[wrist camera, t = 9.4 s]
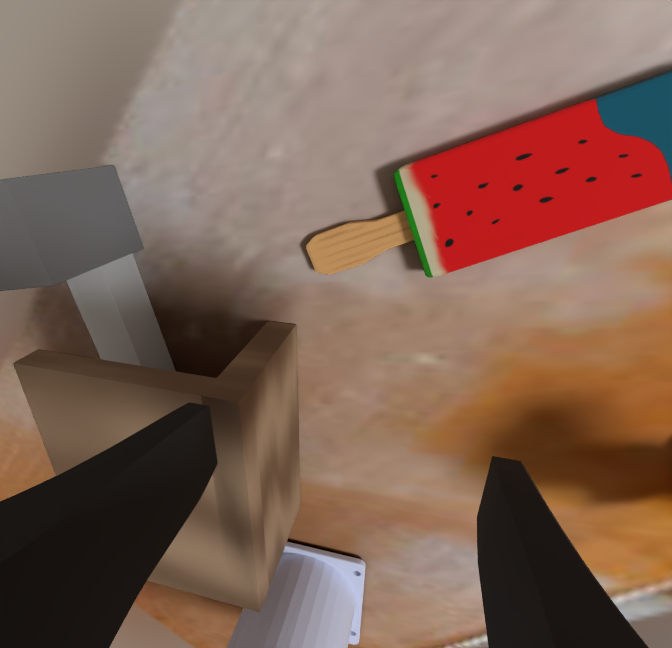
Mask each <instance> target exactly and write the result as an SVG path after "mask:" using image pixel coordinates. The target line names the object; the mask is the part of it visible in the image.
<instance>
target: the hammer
mask: <svg viewBox="0 0 672 648" xmlns="http://www.w3.org/2000/svg"><path fill="white" fill-rule="evenodd" d="M141 249H144V247H143V244H142V242H141V239H140V236H139V233H138V230H137V227H136V225H135V222H134V219H133V216H132V213H131V211H130V208H129V205H128V202H127V199H126V196H125V194H124V191H123V188H122V185H121V182H120V180H119V177H118V174H117V171H116V168H115V165H113V166H105V167H97V168H89V169H81V170H73V171H65V172H57V173H49V174H41V175H33V176H25V177H17V178H9V179H2V180H0V291H4V290H14V289H25V288H35V287H46V286H54V285H57V284H59V283H61V282H64V281H66V282H67V284H68V286H69V289H70V291H71V293H72V295H73V298H74V300H75V302H76V304H77V306H78V309H79V311H80V313H81V315H82V318H83V320H84V322H85V324H86V327H87V329H88V331H89V333H90V336H91V338H92V340H93V342H94V345H95V347H96V349H97V351H98V354H99V356H100V358H101V359H102V360H108V361H114V362H120V363H126V364H132V365H139V366H145V367H151V368H157V369H163V370H169V371H175V368H174V365H173V363H172V360H171V357H170V354H169V352H168V349H167V346H166V343H165V341H164V338H163V335H162V333H161V330H160V327H159V324H158V322H157V319H156V316H155V314H154V311H153V308H152V305H151V303H150V300H149V297H148V295H147V292H146V289H145V286H144V284H143V281H142V278H141V276H140V273H139V270H138V267H137V265H136V262H135V259H134V257H133V254H132V253H134V252H137V251H139V250H141Z"/></svg>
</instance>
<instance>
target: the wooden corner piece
mask: <svg viewBox="0 0 672 648" xmlns="http://www.w3.org/2000/svg"><path fill="white" fill-rule="evenodd" d="M13 364H14V367H15V370H16V372H17V375H18V377H19V380H20V383H21V385H22V388H23V390H24V393H25V396H26V398H27V401H28V404H29V406H30V409H31V411H32V414H33V417H34V419H35V422H36V424H37V427H38V430H39V432H40V435H41V438H42V440H43V443H44V445H45V448H46V451H47V453H48V456H49V458H50V461H51V464H52V466H53V469H54V472H55V474H56V476H57V475H59V474H61V473H63V472H65V471H67V470H69V469H71V468H73V467H75V466H77V465H78V464H80V463H82V462H84V461H86V460H88V459H90V458H92V457H93V456H95V455H97V454H99V453H101V452H103V451H105V450H107V449H108V448H110V447H112V446H114V445H115V444H117V443H119V442H121V441H122V440H124V439H126V438H128V437H129V436H131V435H133V434H134V433H136V432H138V431H140V430H141V429H143V428H145V427H147V426H148V425H150V424H152V423H153V422H155V421H157V420H158V419H160V418H162V417H164V416H165V415H167V414H169V413H170V412H172V411H174V410H176V409H178V408H179V407H181V406H183V405H185V404H187V403H189V402H190V403H196V404H201V405H207V406H210V412H211V419H212V426H213V434H214V441H215V448H216V455H217V462H218V464H217V466H216V468H215V470H214V472H213V475H212V477H211V479H210V481H209V483H208V485H207V487H206V489H205V491H204V493H203V495H202V497H201V498H200V500H199V502H198V503H197V505H196V506H195V508H194V510H193V511H192V513H191V514H190V516H189V517H188V519H187V520H186V522H185V523H184V525H183V526H182V528H181V530H180V531H179V533H178V534H177V536H176V537H175V539H174V540H173V542H172V543H171V545H170V546H169V548H168V549H167V551H166V552H165V554H164V555H163V557H162V558H161V560H160V561H159V563H158V564H157V566H156V567H155V569H154V570H153V572H152V573H151V575H150V576H149V578H148V579H147V581H149V582H153V583H157V584H160V585H164V586H167V587H171V588H174V589H178V590H182V591H185V592H189V593H192V594H196V595H200V596H203V597H207V598H210V599H214V600H217V601H221V602H225V603H228V604H232V605H235V606H239V607H242V608H246V609H250V610H253V611H257V612H260V611H261V609H262V606H263V603H264V601H265V598H266V595H267V593H268V590H269V588H270V585H271V582H272V580H273V577H274V574H275V572H276V569H277V566H278V564H279V561H280V558H281V556H282V553H283V551H284V548H285V545H286V543H287V540H288V537H289V535H290V532H291V529H292V527H293V524H294V522H295V519H296V516H297V514H298V511H299V508H300V506H301V504H300V462H299V419H298V377H297V334H296V324H289V323H281V322H274V321H268V322H267V323H266V324H265V325H264V326H263V327H262V328H261V329H260V331H259V332H258V333H257V334H256V335H255V336H254V337H253V338H252V339H251V341H250V342H249V343H248V344H247V345H246V346H245V347H244V348H243V349H242V351H241V352H240V353H239V354H238V355H237V356H236V357H235V358H234V359H233V361H232V362H231V363H230V364H229V365H228V366H227V367H226V368H225V369H224V371H223V372H222V373H221V374H220V375H219V376H218V377H217V378H213V377H206V376H200V375H194V374H188V373H182V372H176V371H169V370H163V369H157V368H151V367H145V366H139V365H132V364H126V363H120V362H114V361H108V360H102V359H95V358H89V357H83V356H77V355H71V354H65V353H58V352H52V351H46V350H40V349H38V350H36V351H34V352H33V353H31V354H29V355H27V356H25V357H24V358H22V359H20V360H18V361H16V362H15V363H13Z"/></svg>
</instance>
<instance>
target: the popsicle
mask: <svg viewBox="0 0 672 648" xmlns="http://www.w3.org/2000/svg"><path fill="white" fill-rule="evenodd" d="M394 179H395V182H396V186H397V189H398V192H399V195H400V198H401V201H402V204H403V207H404V210H403V211H400V212H397V213H394V214H391V215H389V216H386V217H383V218H380V219H377V220H367V221H355V222H349V223H346V224H343V225H341V226H338V227H335V228H332V229H330V230H327V231H324V232H321V233H319V234H317V235H315V236H314V237H313V238H312V239H311V240H310V242H309V243H308V244H307V245H306V249H307V252H308V254H309V257H310V259H311V261H312V264H313V266H314V268H315V271H316V272H318V273H322V274H333V273H336V272H339V271H343V270H346V269H349V268H352V267H355V266H358V265H361V264H364V263H366V262H367V261H369V260H370V259H372V258H373V257H375V256H377V255H378V254H380V253H381V252H383V251H384V250H386V249H389V248H392V247H395V246H398V245H401V244H404V243H407V242H410V241H413V240H414V241H415V244H416V247H417V250H418V253H419V256H420V259H421V262H422V266H423V269H424V272H425V275H426V276H427V277H436V276H440V275H443V274H446V273H449V272H452V271H455V270H458V269H461V268H464V267H468V266H471V265H474V264H477V263H480V262H483V261H486V260H489V259H492V258H495V257H498V256H501V255H504V254H507V253H510V252H513V251H516V250H519V249H522V248H525V247H528V246H531V245H535V244H538V243H541V242H544V241H547V240H550V239H553V238H556V237H559V236H562V235H565V234H568V233H571V232H574V231H577V230H580V229H583V228H586V227H589V226H592V225H595V224H598V223H601V222H605V221H608V220H611V219H614V218H617V217H620V216H623V215H626V214H629V213H632V212H635V211H638V210H641V209H644V208H647V207H650V206H653V205H656V204H659V203H662V202H665V201H668V200H672V70H671V71H668V72H666V73H663V74H660V75H657V76H654V77H651V78H649V79H646V80H643V81H640V82H637V83H635V84H632V85H629V86H626V87H623V88H620V89H618V90H615V91H612V92H609V93H606V94H604V95H601V96H598V97H595V98H592V99H589V100H587V101H584V102H581V103H578V104H575V105H573V106H570V107H567V108H564V109H561V110H558V111H556V112H553V113H550V114H547V115H544V116H542V117H539V118H536V119H533V120H530V121H527V122H525V123H522V124H519V125H516V126H513V127H511V128H508V129H505V130H502V131H499V132H496V133H494V134H491V135H488V136H485V137H482V138H480V139H477V140H474V141H471V142H468V143H465V144H463V145H460V146H457V147H454V148H451V149H449V150H446V151H443V152H440V153H437V154H434V155H432V156H429V157H426V158H423V159H420V160H417V161H415V162H412V163H409V164H406V165H404V166H402V167H400V168H399V169H398V170H397V171H396V172H395V173H394Z"/></svg>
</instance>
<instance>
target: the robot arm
mask: <svg viewBox="0 0 672 648" xmlns="http://www.w3.org/2000/svg"><path fill="white" fill-rule="evenodd" d="M217 464H218V462H217V455H216V448H215V441H214V434H213V426H212V419H211V412H210V406H207V405H201V404H196V403H190V402H189V403H187V404H185V405H183V406H181V407H179V408H178V409H176V410H174V411H172V412H170V413H169V414H167V415H165V416H164V417H162V418H160V419H158V420H157V421H155V422H153V423H152V424H150V425H148V426H147V427H145V428H143V429H141V430H140V431H138V432H136V433H134V434H133V435H131V436H129V437H128V438H126V439H124V440H122V441H121V442H119V443H117V444H115V445H114V446H112V447H110V448H108V449H107V450H105V451H103V452H101V453H99V454H97V455H95V456H93V457H92V458H90V459H88V460H86V461H84V462H82V463H80V464H78V465H77V466H75V467H73V468H71V469H69V470H67V471H65V472H63V473H61V474H59V475H57V476H55V477H53V478H51V479H49V480H47V481H45V482H43V483H41V484H39V485H36V486H34V487H32V488H30V489H28V490H25V491H23V492H21V493H19V494H17V495H14V496H12V497H10V498H7V499H5V500H3V501H0V648H109V647H110V645H111V643H112V641H113V639H114V637H115V636H116V634H117V632H118V630H119V628H120V627H121V625H122V623H123V621H124V619H125V617H126V615H127V614H128V612H129V610H130V608H131V606H132V604H133V603H134V601H135V599H136V597H137V596H138V594H139V592H140V591H141V589H142V588H143V586H144V584H145V583H146V581H147V579H148V578H149V576H150V575H151V573H152V572H153V570H154V569H155V567H156V566H157V564H158V563H159V561H160V560H161V558H162V557H163V555H164V554H165V552H166V551H167V549H168V548H169V546H170V545H171V543H172V542H173V540H174V539H175V537H176V536H177V534H178V533H179V531H180V530H181V528H182V526H183V525H184V523H185V522H186V520H187V519H188V517H189V516H190V514H191V513H192V511H193V510H194V508H195V506H196V505H197V503H198V502H199V500H200V498H201V497H202V495H203V493H204V491H205V489H206V487H207V485H208V483H209V481H210V479H211V477H212V475H213V472H214V470H215V468H216V466H217ZM477 547H478V567H479V575H480V583H481V591H482V599H483V607H484V614H485V622H486V629H487V637H488V645H489V648H648V646H647V645H646V644H645V643H644V641H643V640H642V639H641V638H640V637H639V635H638V634H637V633H636V631H635V630H634V629H633V628H632V626H631V625H630V624H629V622H628V621H627V620H626V619H625V617H624V616H623V615H622V613H621V612H620V611H619V609H618V608H617V607H616V605H615V604H614V603H613V601H612V600H611V599H610V597H609V596H608V595H607V593H606V592H605V590H604V589H603V588H602V586H601V585H600V584H599V582H598V581H597V580H596V578H595V577H594V575H593V574H592V572H591V571H590V570H589V568H588V567H587V565H586V564H585V562H584V561H583V560H582V558H581V557H580V555H579V554H578V552H577V551H576V549H575V548H574V546H573V545H572V543H571V542H570V540H569V539H568V537H567V536H566V534H565V533H564V531H563V530H562V528H561V526H560V525H559V523H558V522H557V520H556V519H555V517H554V515H553V514H552V512H551V511H550V509H549V507H548V506H547V504H546V502H545V501H544V499H543V497H542V496H541V494H540V492H539V491H538V489H537V487H536V486H535V484H534V482H533V480H532V479H531V477H530V475H529V473H528V472H527V470H526V468H525V466H524V465H523V464H522V463H521V461H517V460H511V459H506V458H500V457H494V456H492V460H491V464H490V468H489V472H488V476H487V480H486V484H485V488H484V491H483V495H482V499H481V503H480V507H479V511H478V515H477ZM365 567H366V565H365V563H364V561H362V560H361V559H358V558H354V557H349V556H345V555H341V554H337V553H333V552H329V551H324V550H320V549H316V548H312V547H308V546H304V545H299V544H295V543H291V542H287V543H286V545H285V548H284V551H283V553H282V556H281V558H280V561H279V564H278V566H277V569H276V572H275V574H274V577H273V580H272V582H271V585H270V588H269V590H268V593H267V595H266V598H265V601H264V603H263V606H262V609H261V611H260V612H257V611H253V610H250V609H246V608H243V610H242V612H241V614H240V617H239V619H238V622H237V624H236V626H235V629H234V631H233V634H232V636H231V638H230V641H229V643H228V646H227V648H348V643H349V644H354V645H355V644H358V643H359V638H360V626H361V614H362V602H363V591H364V579H365Z"/></svg>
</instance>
